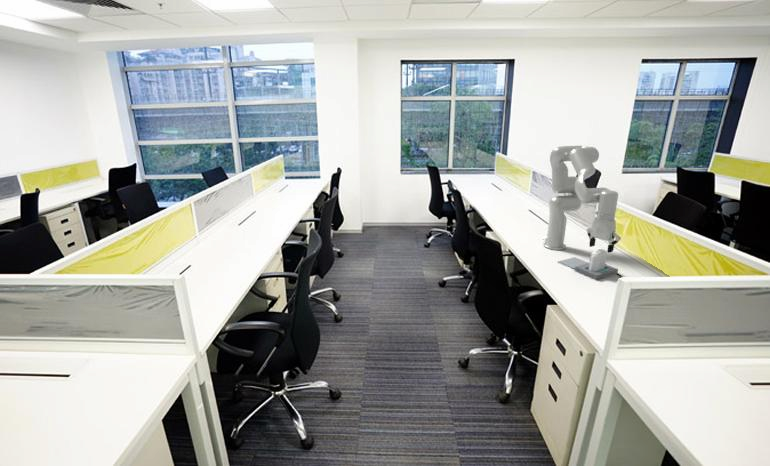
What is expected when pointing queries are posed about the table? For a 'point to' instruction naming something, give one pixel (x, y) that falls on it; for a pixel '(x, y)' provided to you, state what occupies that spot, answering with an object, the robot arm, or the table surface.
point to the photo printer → (597, 260)
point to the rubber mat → (572, 262)
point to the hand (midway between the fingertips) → (600, 249)
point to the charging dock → (598, 274)
